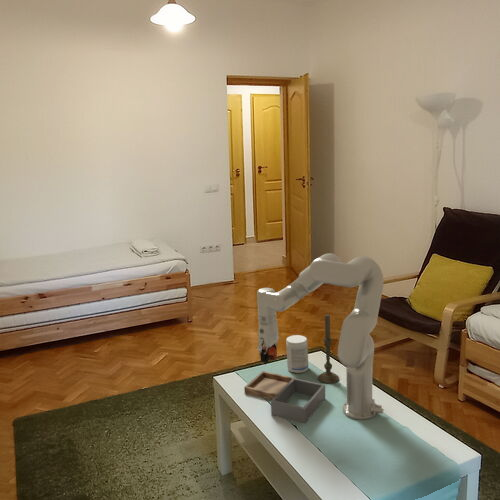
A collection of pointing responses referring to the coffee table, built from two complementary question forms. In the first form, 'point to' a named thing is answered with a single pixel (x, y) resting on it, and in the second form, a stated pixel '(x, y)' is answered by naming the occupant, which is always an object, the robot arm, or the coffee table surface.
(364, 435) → the coffee table surface
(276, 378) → the tray
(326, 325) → the candlestick holder
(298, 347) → the supplement tub
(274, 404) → the grey open box
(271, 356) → the pomegranate
